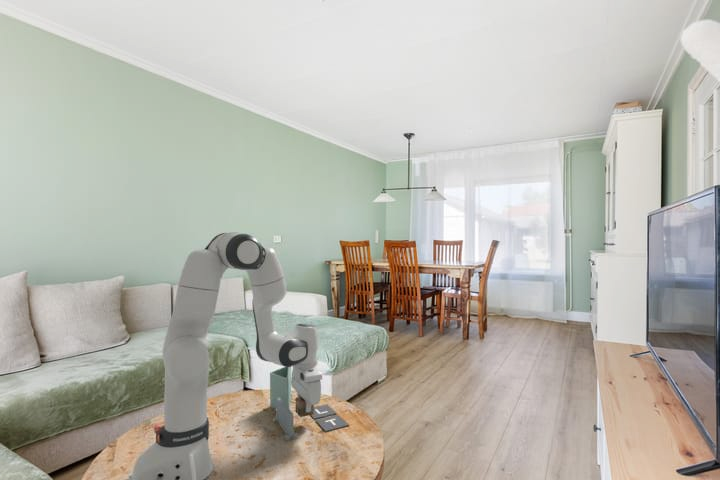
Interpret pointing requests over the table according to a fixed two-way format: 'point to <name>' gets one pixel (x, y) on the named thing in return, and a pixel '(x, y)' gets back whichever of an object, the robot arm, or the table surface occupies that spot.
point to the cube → (302, 407)
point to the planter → (280, 386)
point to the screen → (285, 419)
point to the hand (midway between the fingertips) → (304, 408)
